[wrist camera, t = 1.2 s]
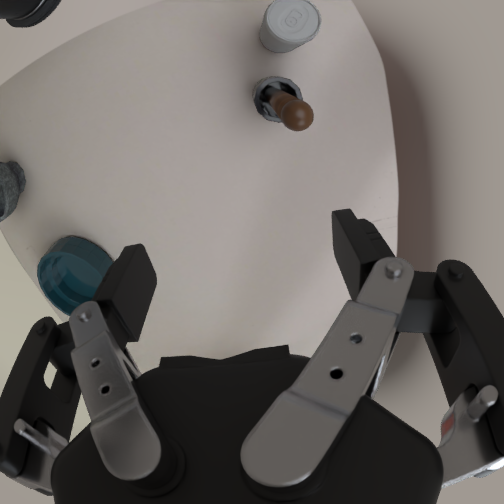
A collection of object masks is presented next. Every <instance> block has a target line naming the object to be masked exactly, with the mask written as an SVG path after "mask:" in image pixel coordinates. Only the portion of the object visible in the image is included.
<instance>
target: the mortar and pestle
mask: <svg viewBox="0 0 504 504" xmlns="http://www.w3.org/2000/svg"><path fill="white" fill-rule="evenodd" d="M25 183H26V180H25V175H24V171H23V169H22V168H21V167H20V166H19V164H18V163H16V162H12V161H9V162H7V163H2V162H0V222H1V221H3V220H4V219H6V218H7V217H8V216H9V215H10V214H11V213H12V212H13V211H14V210H15V208H16V205H17V202H18V198H19V194H20V193H21V192H23V191H24V187H25Z"/></svg>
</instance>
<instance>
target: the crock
mask: <svg viewBox="0 0 504 504" xmlns="http://www.w3.org/2000/svg"><path fill="white" fill-rule="evenodd" d="M271 87H275V88H278V89H280V90H282V91H284V92H286V93H288V94H290V95H292V96H294V97H296V98H298V99H300V100H302V101H303V98H302V95H301V92H300V89H299V87H298V86H297V85H296V84H294V83H293V82H292V81H291V80H290V79H286V78H282V77H275V76H271V77H267V78H263V79H261V80H260V81H259V82H258V83H257V84H256V85H255V87H254V91H253V99H254V103H255V106H256V108H257V111H258V113H260V114H261V115H262V116H263V117H264V118H265V119H266V120H269V121H274V122H278V123H279V122H282V121H281V120H280V118H279V117H278V115H277V114H276V113H275V111H274V110H273V109H272V107H271V106H270V104H269V103H268V102H267V100H266V99H265V91H266V90H267V89H268V88H271Z"/></svg>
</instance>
